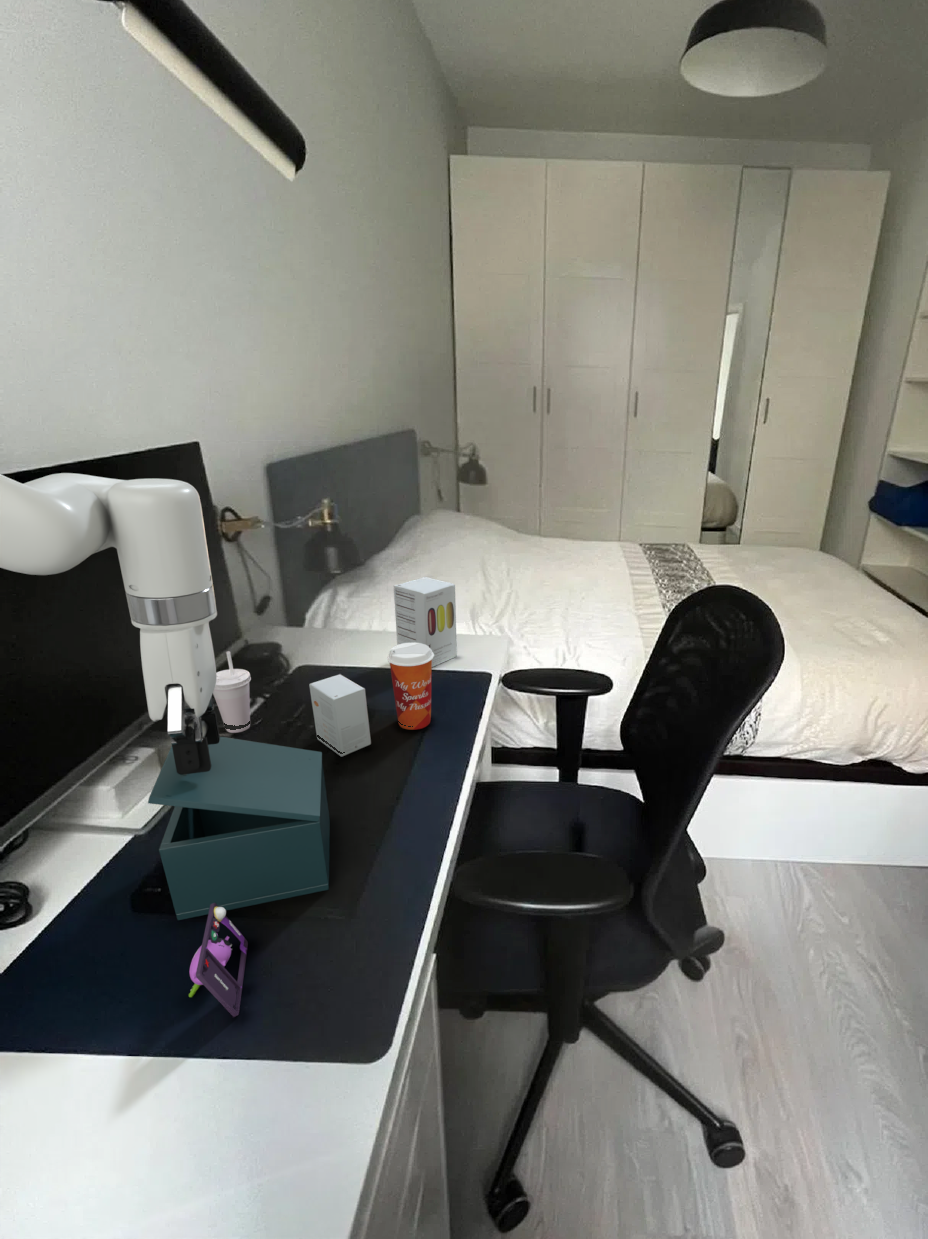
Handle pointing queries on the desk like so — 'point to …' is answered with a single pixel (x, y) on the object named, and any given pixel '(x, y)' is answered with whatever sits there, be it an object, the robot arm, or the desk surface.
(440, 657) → the supplement box
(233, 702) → the smoothie
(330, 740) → the small box
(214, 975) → the purple photo frame
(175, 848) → the bin
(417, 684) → the paper cup
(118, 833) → the desk surface
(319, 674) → the desk surface
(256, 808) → the bin lid
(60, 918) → the desk surface
